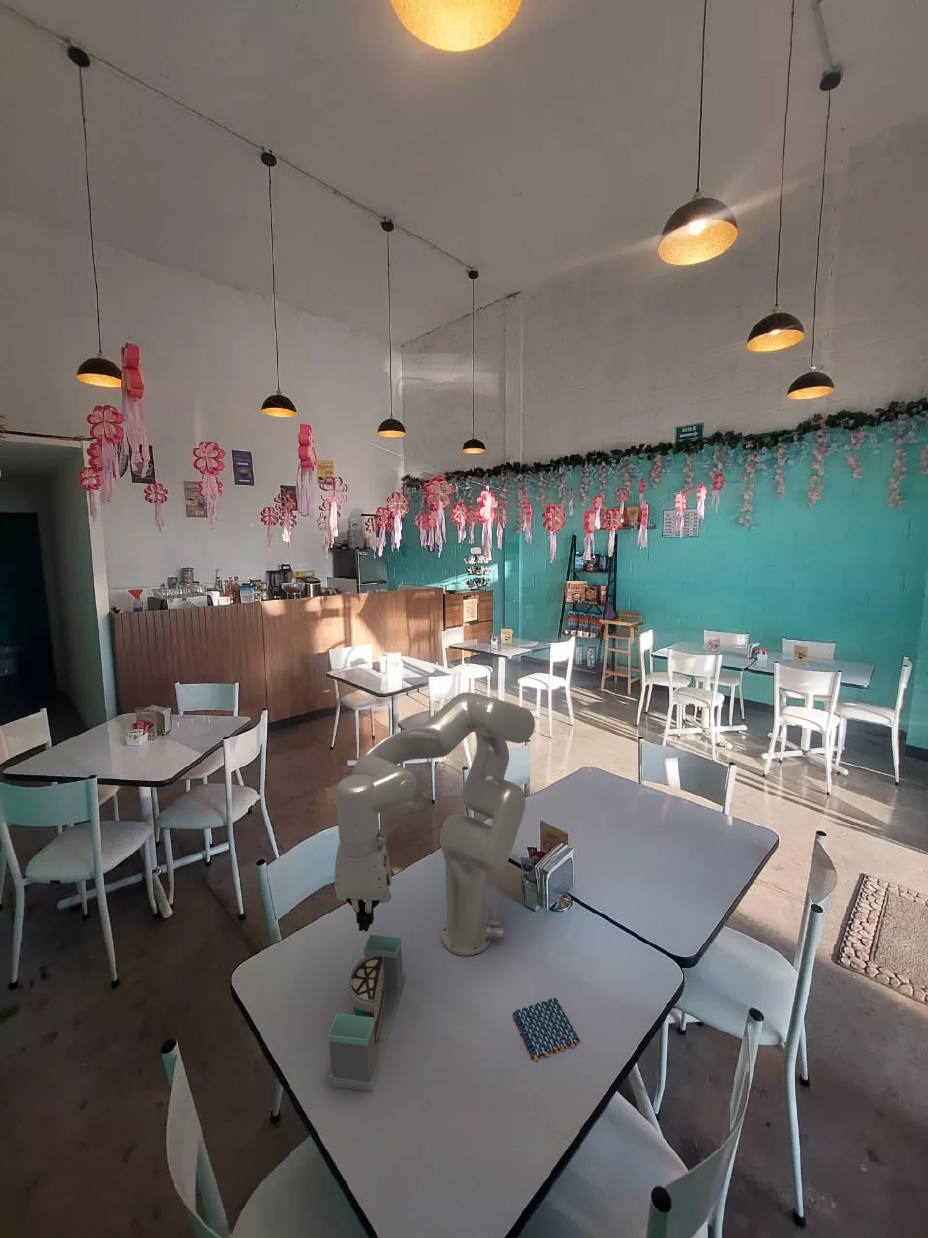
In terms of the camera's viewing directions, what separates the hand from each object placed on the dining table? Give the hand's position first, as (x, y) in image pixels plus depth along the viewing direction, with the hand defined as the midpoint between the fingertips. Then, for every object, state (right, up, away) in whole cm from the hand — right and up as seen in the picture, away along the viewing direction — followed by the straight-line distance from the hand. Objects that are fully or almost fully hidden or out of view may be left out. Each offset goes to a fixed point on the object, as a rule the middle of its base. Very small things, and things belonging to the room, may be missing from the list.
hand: (365, 925), depth 100 cm
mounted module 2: (+2, -19, +12) cm, 23 cm away
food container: (-1, -21, +4) cm, 21 cm away
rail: (+1, -23, +3) cm, 23 cm away
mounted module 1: (-1, -22, -6) cm, 23 cm away
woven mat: (+36, -23, +3) cm, 43 cm away
